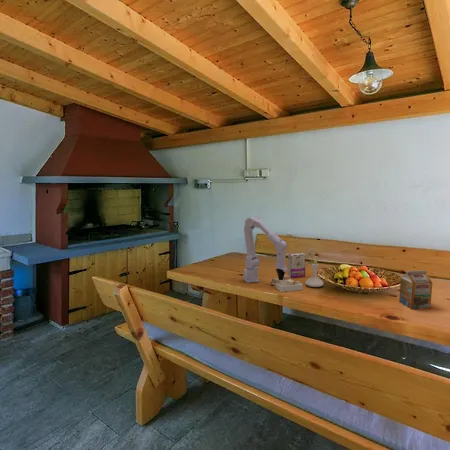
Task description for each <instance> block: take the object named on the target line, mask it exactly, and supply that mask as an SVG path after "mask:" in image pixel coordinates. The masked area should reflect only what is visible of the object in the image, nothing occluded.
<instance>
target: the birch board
mask: <svg viewBox="0 0 450 450" xmlns="http://www.w3.org/2000/svg"><path fill="white" fill-rule="evenodd" d="M276 283H278V284H279V278H278V277H277V278H276V277H275V278H271V284H272V285H273V286H275V287H276ZM288 285H296V281H295V280H293V278H290V279H288V280H287V286H288Z"/></svg>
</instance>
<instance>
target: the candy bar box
mask: <svg viewBox="0 0 450 450" xmlns="http://www.w3.org/2000/svg"><path fill="white" fill-rule="evenodd" d="M305 254H306V253H301V252H300V253H299V252H298V253H288V254H287V255H288V257H287V259H288V261H287V262H288V266H287V272H288V274H287V275H289V276H290V279H296V278H297V279H298V278H304V277H306V258H305V256H304V255H305Z"/></svg>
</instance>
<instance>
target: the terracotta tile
mask: <svg viewBox="0 0 450 450" xmlns="http://www.w3.org/2000/svg"><path fill="white" fill-rule="evenodd" d="M288 279H291V278H290V276H289V275H288V274H284V277H283V280H288Z"/></svg>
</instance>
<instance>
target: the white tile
mask: <svg viewBox="0 0 450 450" xmlns="http://www.w3.org/2000/svg"><path fill="white" fill-rule="evenodd" d="M279 284H280V285H281V286H287V280H279Z"/></svg>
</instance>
